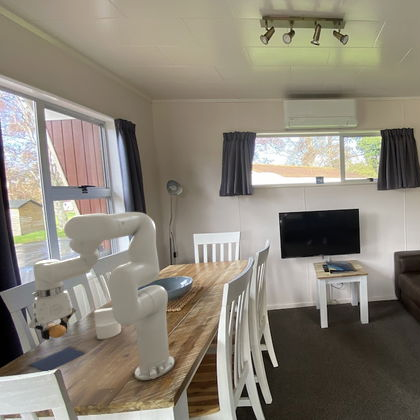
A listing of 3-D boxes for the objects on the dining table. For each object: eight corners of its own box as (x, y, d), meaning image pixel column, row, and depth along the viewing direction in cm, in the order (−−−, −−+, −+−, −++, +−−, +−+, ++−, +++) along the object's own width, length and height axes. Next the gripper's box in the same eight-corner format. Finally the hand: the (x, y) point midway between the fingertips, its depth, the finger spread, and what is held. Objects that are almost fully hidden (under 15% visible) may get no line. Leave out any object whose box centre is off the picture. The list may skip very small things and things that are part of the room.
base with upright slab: (123, 327, 133) (121, 303, 132) (117, 336, 124) (114, 311, 123) (101, 331, 129) (99, 307, 128) (93, 340, 121) (90, 315, 120)
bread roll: (69, 335, 108) (68, 324, 108) (54, 341, 104) (53, 330, 103) (56, 330, 111) (55, 319, 111) (41, 336, 107) (40, 325, 107)
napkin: (84, 353, 112) (84, 353, 112) (46, 372, 101) (46, 371, 101) (68, 347, 116) (68, 347, 116) (30, 365, 105) (29, 364, 105)
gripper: (25, 301, 97) (30, 349, 98) (81, 285, 112) (86, 326, 114) (14, 298, 100) (20, 345, 101) (71, 283, 115) (75, 323, 117)
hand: (55, 335), depth 108 cm, fingers closed on bread roll, 4 cm apart
